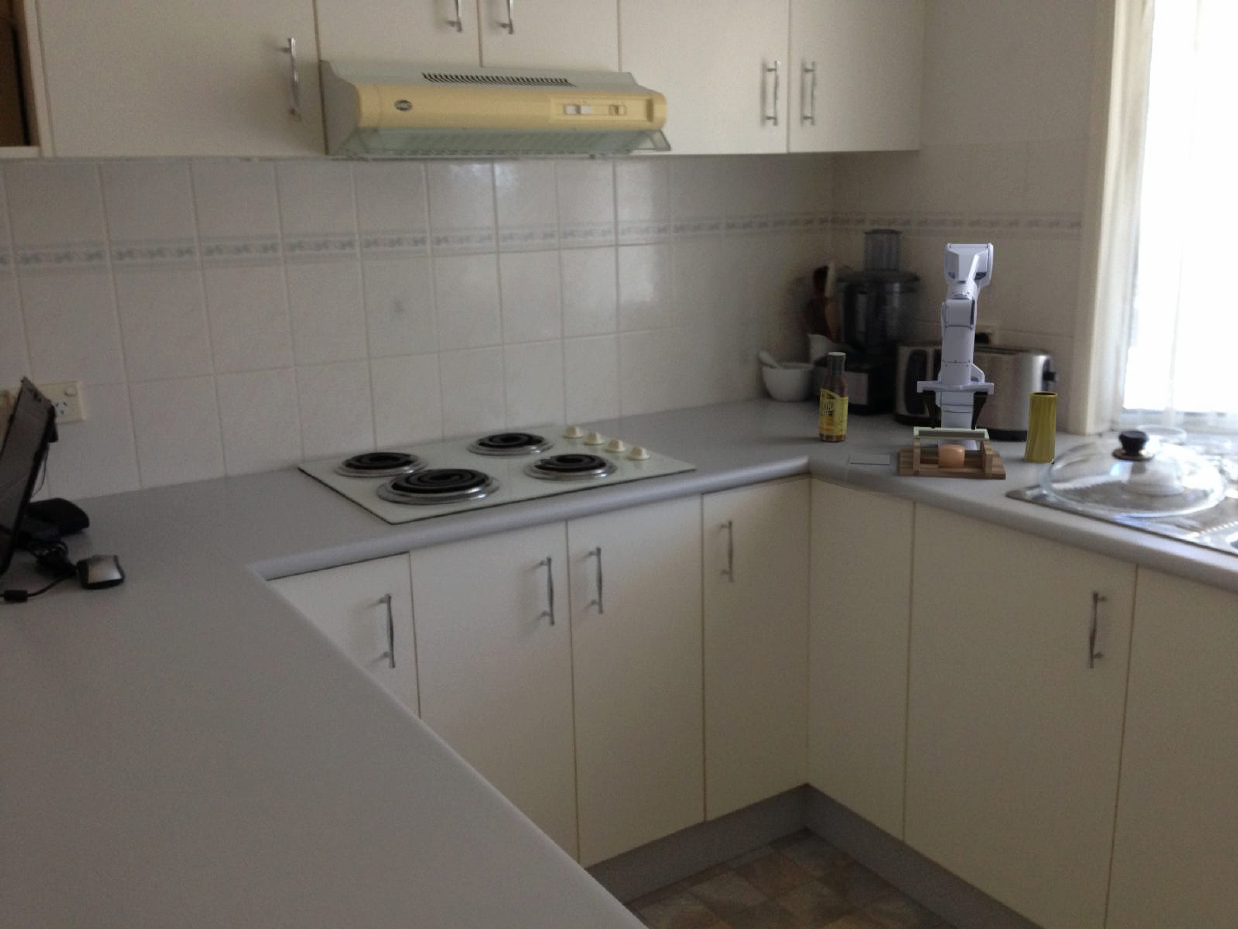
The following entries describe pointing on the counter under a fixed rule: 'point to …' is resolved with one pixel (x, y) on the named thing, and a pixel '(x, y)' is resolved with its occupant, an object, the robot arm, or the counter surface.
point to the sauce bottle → (834, 400)
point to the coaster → (870, 459)
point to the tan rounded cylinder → (951, 456)
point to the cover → (951, 433)
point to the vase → (1041, 427)
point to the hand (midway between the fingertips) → (952, 428)
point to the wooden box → (975, 466)
